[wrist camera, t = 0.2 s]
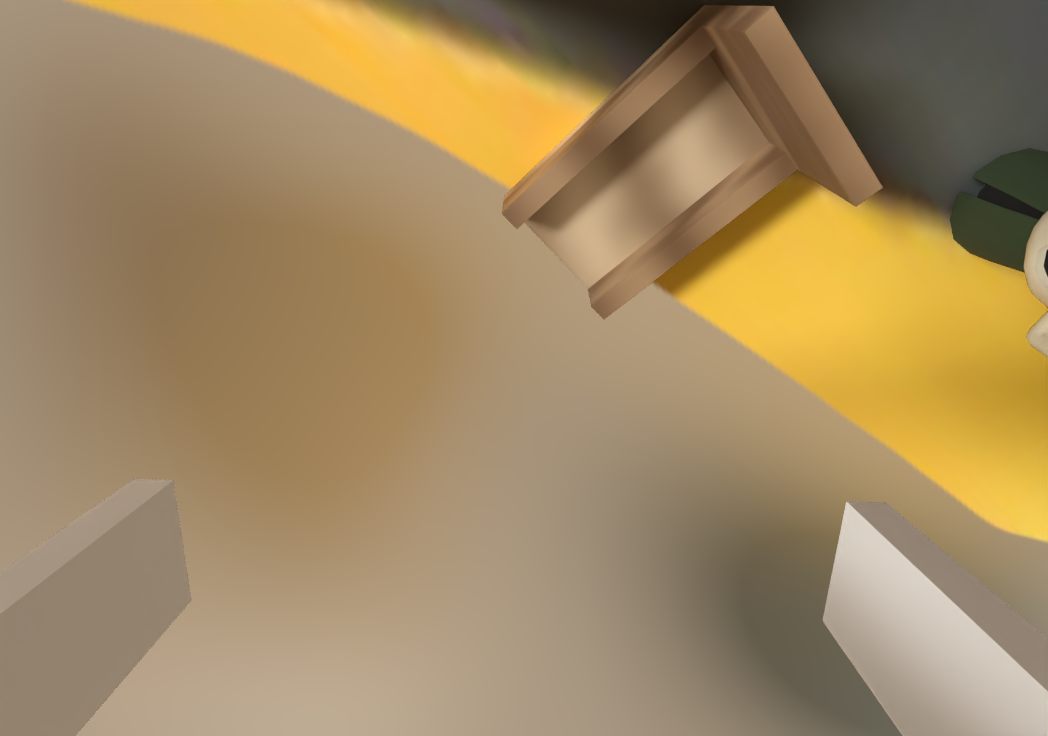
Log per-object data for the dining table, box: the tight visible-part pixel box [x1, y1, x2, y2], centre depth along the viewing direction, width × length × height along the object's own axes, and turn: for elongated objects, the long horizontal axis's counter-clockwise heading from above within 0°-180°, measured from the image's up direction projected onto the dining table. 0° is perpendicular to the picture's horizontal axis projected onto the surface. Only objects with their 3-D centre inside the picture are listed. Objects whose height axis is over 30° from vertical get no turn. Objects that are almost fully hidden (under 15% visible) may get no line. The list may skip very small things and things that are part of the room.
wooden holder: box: [502, 5, 883, 319], centre depth 30 cm, size 14×9×10 cm, turn 133°
